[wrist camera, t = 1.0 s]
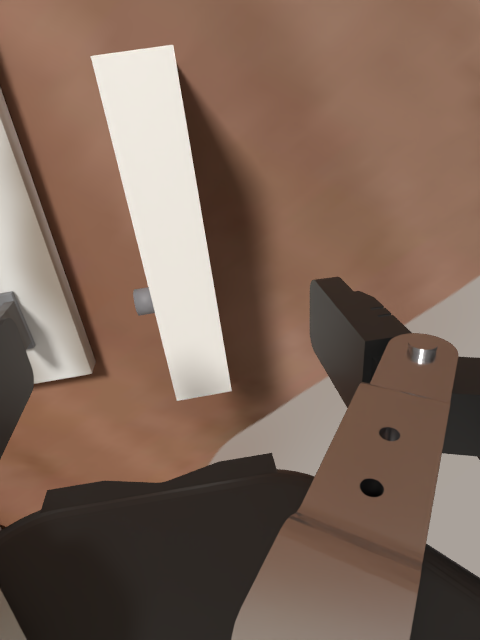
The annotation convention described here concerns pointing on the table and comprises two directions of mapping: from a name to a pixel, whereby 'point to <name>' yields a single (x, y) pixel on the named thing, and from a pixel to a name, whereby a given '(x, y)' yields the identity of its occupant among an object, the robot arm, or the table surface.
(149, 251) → the door
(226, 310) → the table surface
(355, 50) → the table surface
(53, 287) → the cabinet side
